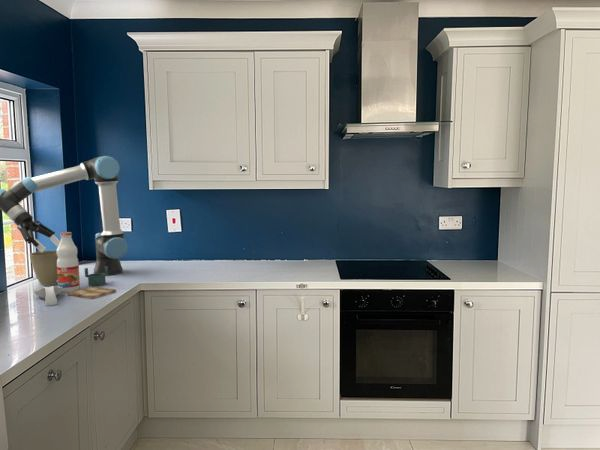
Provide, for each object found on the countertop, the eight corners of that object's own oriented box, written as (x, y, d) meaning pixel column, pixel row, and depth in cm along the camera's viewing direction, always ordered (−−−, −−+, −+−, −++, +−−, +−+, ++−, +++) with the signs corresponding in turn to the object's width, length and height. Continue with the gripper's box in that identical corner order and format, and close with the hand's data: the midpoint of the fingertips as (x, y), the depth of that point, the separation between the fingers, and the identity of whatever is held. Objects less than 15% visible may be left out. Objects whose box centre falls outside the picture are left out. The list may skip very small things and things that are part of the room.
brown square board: (92, 288, 234) (92, 286, 234) (115, 291, 228) (115, 289, 228) (68, 295, 221) (67, 293, 221) (92, 299, 215) (91, 296, 215)
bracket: (83, 285, 241) (82, 268, 240) (99, 281, 249) (98, 264, 248) (96, 287, 237) (95, 269, 236) (111, 283, 245) (110, 266, 244)
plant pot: (27, 284, 245) (24, 253, 243) (57, 279, 256) (55, 249, 254) (38, 288, 235) (36, 256, 233) (69, 283, 246) (67, 252, 244)
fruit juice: (83, 288, 236) (80, 231, 233) (73, 292, 226) (70, 233, 223) (65, 288, 236) (61, 231, 233) (54, 292, 227) (50, 233, 224)
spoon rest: (33, 296, 222) (32, 280, 221) (61, 292, 228) (60, 277, 227) (36, 308, 202) (35, 291, 201) (67, 303, 208) (66, 287, 207)
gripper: (32, 219, 241) (62, 249, 242) (-3, 225, 216) (30, 258, 217) (41, 209, 240) (72, 239, 241) (7, 213, 215) (41, 246, 216)
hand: (52, 248), depth 229 cm, fingers open, 13 cm apart
